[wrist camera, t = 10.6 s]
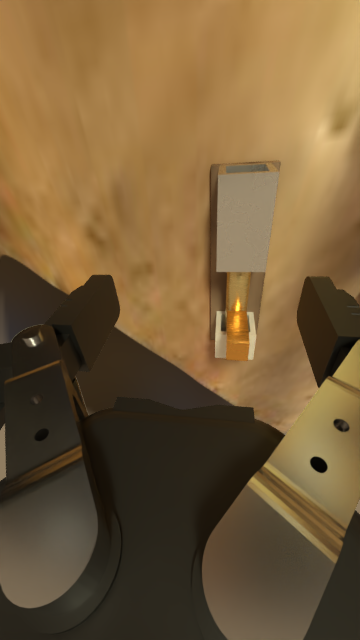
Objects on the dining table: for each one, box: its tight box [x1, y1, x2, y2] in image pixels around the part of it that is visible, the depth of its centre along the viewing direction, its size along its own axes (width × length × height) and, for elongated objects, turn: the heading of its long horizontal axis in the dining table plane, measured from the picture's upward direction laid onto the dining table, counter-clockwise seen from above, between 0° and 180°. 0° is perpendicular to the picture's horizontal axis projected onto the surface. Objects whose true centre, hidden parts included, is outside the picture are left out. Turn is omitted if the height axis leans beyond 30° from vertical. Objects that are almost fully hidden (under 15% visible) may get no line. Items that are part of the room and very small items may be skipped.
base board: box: [211, 161, 281, 340], centre depth 40 cm, size 8×28×1 cm, turn 4°
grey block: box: [216, 163, 279, 272], centre depth 32 cm, size 6×11×6 cm, turn 4°
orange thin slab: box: [225, 272, 251, 361], centre depth 36 cm, size 3×17×10 cm, turn 4°
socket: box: [215, 311, 256, 360], centre depth 44 cm, size 6×5×6 cm
